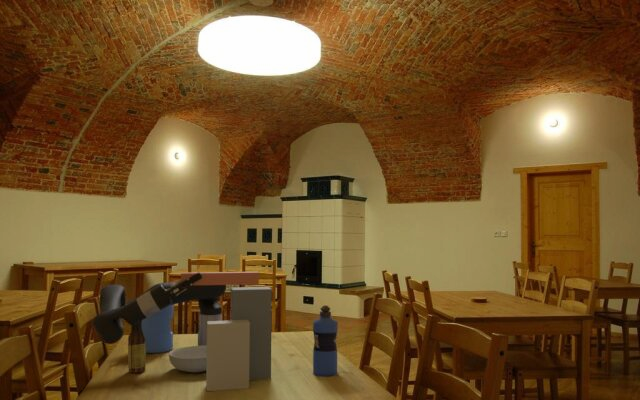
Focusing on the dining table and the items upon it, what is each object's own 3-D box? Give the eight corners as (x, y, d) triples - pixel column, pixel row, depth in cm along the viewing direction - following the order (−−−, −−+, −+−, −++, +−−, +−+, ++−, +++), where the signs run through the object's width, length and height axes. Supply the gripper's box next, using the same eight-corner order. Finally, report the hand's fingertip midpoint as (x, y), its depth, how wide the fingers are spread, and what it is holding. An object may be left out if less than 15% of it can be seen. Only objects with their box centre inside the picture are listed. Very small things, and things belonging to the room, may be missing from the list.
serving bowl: (177, 362, 218) (177, 345, 218) (229, 363, 217) (229, 345, 217) (160, 376, 197) (161, 357, 197) (217, 377, 196) (218, 358, 197)
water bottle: (334, 369, 207) (334, 303, 209) (340, 376, 198) (340, 307, 200) (310, 370, 205) (310, 304, 207) (315, 377, 196) (315, 308, 198)
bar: (180, 285, 180) (181, 273, 180) (180, 284, 184) (181, 272, 184) (258, 284, 186) (258, 272, 186) (257, 283, 190) (257, 271, 190)
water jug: (153, 355, 229) (154, 289, 230) (128, 351, 237) (129, 286, 238) (180, 348, 242) (181, 285, 243) (156, 344, 250) (157, 283, 252)
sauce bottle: (149, 370, 205) (150, 317, 206) (138, 374, 200) (139, 320, 201) (134, 368, 208) (135, 316, 209) (123, 372, 202) (124, 319, 203)
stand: (206, 391, 179) (208, 294, 181) (205, 376, 197) (206, 288, 199) (275, 386, 185) (276, 292, 187) (267, 372, 202) (268, 286, 204)
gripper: (147, 293, 173) (195, 266, 177) (150, 288, 186) (194, 263, 190) (158, 314, 173) (206, 286, 177) (161, 307, 187) (205, 281, 191)
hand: (200, 274), depth 184 cm, fingers closed on bar, 4 cm apart
